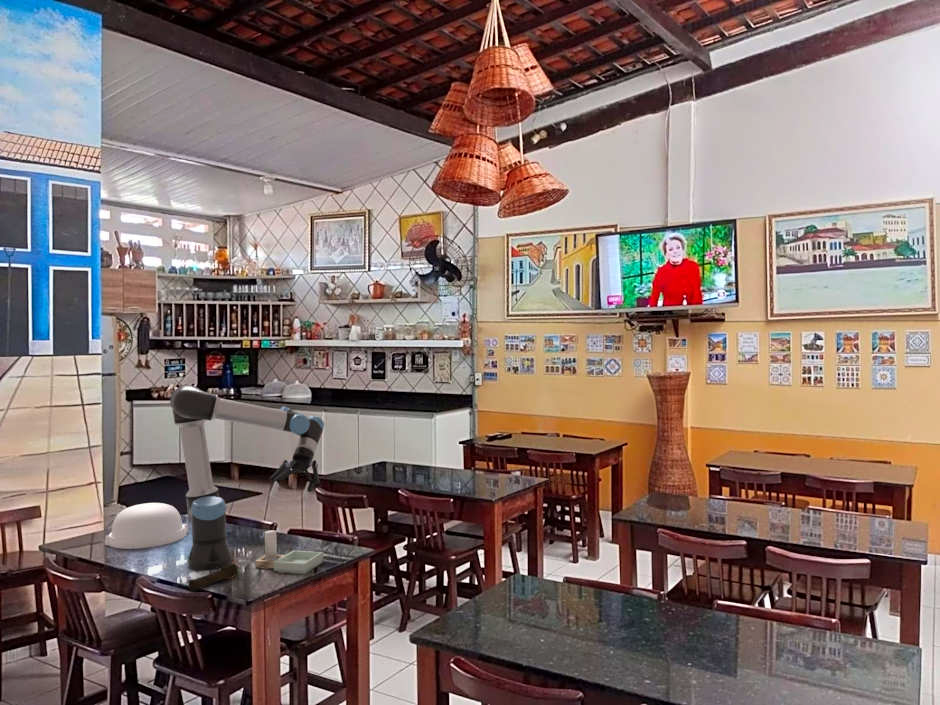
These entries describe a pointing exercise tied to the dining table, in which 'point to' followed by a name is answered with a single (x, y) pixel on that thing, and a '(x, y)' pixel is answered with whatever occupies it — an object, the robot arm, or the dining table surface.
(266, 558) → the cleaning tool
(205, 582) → the hand tool
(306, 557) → the tray
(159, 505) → the dome cover
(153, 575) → the dining table surface
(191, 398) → the robot arm
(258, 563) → the slotted holder
